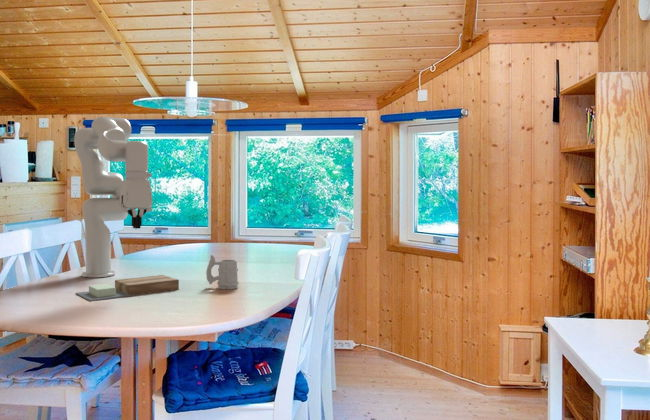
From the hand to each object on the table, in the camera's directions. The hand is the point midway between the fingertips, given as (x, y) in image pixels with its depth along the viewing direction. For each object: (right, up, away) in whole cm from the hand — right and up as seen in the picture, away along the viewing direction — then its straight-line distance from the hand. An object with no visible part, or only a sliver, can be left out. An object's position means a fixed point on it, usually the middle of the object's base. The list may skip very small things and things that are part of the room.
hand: (136, 228), depth 199 cm
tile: (-8, -21, -9) cm, 24 cm away
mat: (-8, -22, -9) cm, 25 cm away
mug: (+29, -22, +6) cm, 37 cm away
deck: (+3, -22, +1) cm, 22 cm away
